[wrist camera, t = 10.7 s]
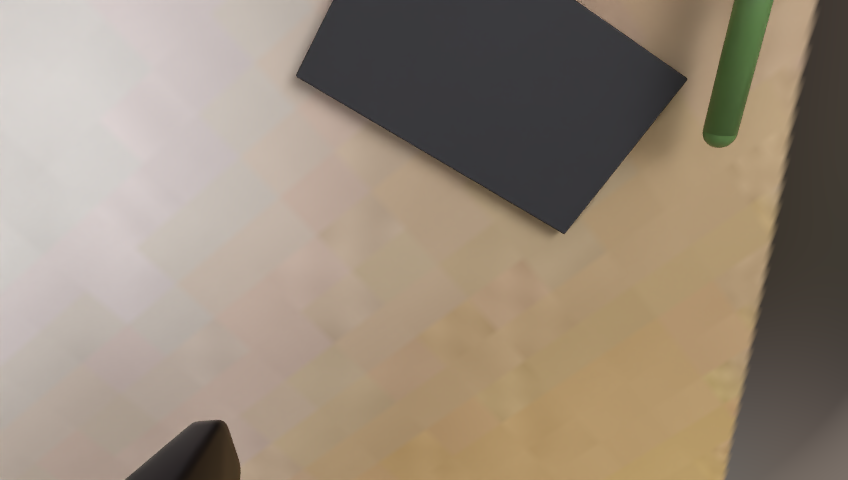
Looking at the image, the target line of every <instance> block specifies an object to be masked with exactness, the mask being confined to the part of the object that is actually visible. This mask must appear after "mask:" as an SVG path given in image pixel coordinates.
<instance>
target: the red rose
mask: <svg viewBox="0 0 848 480" xmlns="http://www.w3.org/2000/svg"><path fill="white" fill-rule="evenodd" d="M772 4H773V0H734V4H733V8H732V12H731V16H730V20H729V25H728V29H727V33H726V37H725V41H724V45H723V49H722V53H721V58H720V62H719V66H718V70H717V74H716V78H715V82H714V86H713V91H712V95H711V99H710V103H709V107H708V111H707V115H706V119H705V124H704V128H703V138H704V140H705V141H706V143H707V144H709V145H710V146H712V147H717V148H721V147H725V146H728V145H729V144H731V143H732V142H733V141H734V140H735V138H736V136H737V134H738V130H739V126H740V123H741V119H742V115H743V111H744V108H745V104H746V100H747V97H748V93H749V89H750V85H751V82H752V78H753V74H754V71H755V67H756V63H757V60H758V56H759V52H760V48H761V45H762V41H763V37H764V34H765V30H766V26H767V22H768V19H769V15H770V11H771V8H772Z"/></svg>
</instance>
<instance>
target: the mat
mask: <svg viewBox="0 0 848 480" xmlns="http://www.w3.org/2000/svg"><path fill="white" fill-rule="evenodd" d="M296 76H297V77H298V78H300V79H301V80H303V81H305V82H306V83H308V84H310V85H311V86H313V87H315V88H317V89H318V90H320V91H322V92H323V93H325V94H327V95H328V96H330V97H332V98H334V99H335V100H337V101H339V102H340V103H342V104H344V105H345V106H347V107H349V108H351V109H352V110H354V111H356V112H357V113H359V114H361V115H362V116H364V117H366V118H368V119H369V120H371V121H373V122H374V123H376V124H378V125H379V126H381V127H383V128H385V129H386V130H388V131H390V132H391V133H393V134H395V135H396V136H398V137H400V138H402V139H403V140H405V141H407V142H408V143H410V144H412V145H413V146H415V147H417V148H419V149H420V150H422V151H424V152H425V153H427V154H429V155H430V156H432V157H434V158H436V159H437V160H439V161H441V162H442V163H444V164H446V165H447V166H449V167H451V168H453V169H454V170H456V171H458V172H459V173H461V174H463V175H464V176H466V177H468V178H470V179H471V180H473V181H475V182H476V183H478V184H480V185H482V186H483V187H485V188H487V189H488V190H490V191H492V192H493V193H495V194H497V195H499V196H500V197H502V198H504V199H505V200H507V201H509V202H510V203H512V204H514V205H516V206H517V207H519V208H521V209H522V210H524V211H526V212H527V213H529V214H531V215H533V216H534V217H536V218H538V219H539V220H541V221H543V222H544V223H546V224H548V225H550V226H551V227H553V228H555V229H556V230H558V231H560V232H561V233H563V234H565V233H566V231H567V230H568V229H569V228H570V226H571V225H572V224H573V223H574V221H575V220H576V219H577V218H578V216H579V215H580V214H581V213H582V211H583V210H584V209H585V208H586V206H587V205H588V204H589V203H590V201H591V200H592V199H593V198H594V196H595V195H596V194H597V193H598V191H599V190H600V189H601V187H602V186H603V185H604V184H605V182H606V181H607V180H608V179H609V177H610V176H611V175H612V174H613V172H614V171H615V170H616V169H617V167H618V166H619V165H620V164H621V162H622V161H623V160H624V159H625V157H626V156H627V155H628V154H629V152H630V151H631V150H632V149H633V147H634V146H635V145H636V144H637V142H638V141H639V140H640V138H641V137H642V136H643V135H644V133H645V132H646V131H647V130H648V128H649V127H650V126H651V125H652V123H653V122H654V121H655V120H656V118H657V117H658V116H659V115H660V113H661V112H662V111H663V110H664V108H665V107H666V106H667V105H668V103H669V102H670V101H671V100H672V98H673V97H674V96H675V95H676V93H677V92H678V91H679V89H680V88H681V87H682V86H683V84H684V83H685V82H686V81H687V78H686V77H685V76H683V75H682V74H680V73H679V72H677V71H676V70H675V69H673V68H672V67H670V66H669V65H667V64H666V63H664V62H663V61H662V60H660V59H659V58H657V57H656V56H654V55H653V54H652V53H650V52H649V51H647V50H646V49H644V48H643V47H642V46H640V45H639V44H637V43H636V42H634V41H633V40H632V39H630V38H629V37H627V36H626V35H624V34H623V33H621V32H620V31H619V30H617V29H616V28H614V27H613V26H611V25H610V24H609V23H607V22H606V21H604V20H603V19H601V18H600V17H599V16H597V15H596V14H594V13H593V12H591V11H590V10H588V9H587V8H586V7H584V6H583V5H581V4H580V3H578V2H577V1H576V0H333V2H332V4H331V6H330V8H329V10H328V12H327V14H326V16H325V18H324V20H323V22H322V24H321V26H320V28H319V30H318V32H317V34H316V36H315V38H314V40H313V42H312V44H311V46H310V48H309V50H308V52H307V54H306V56H305V58H304V60H303V62H302V64H301V66H300V68H299V70H298V72H297V74H296Z"/></svg>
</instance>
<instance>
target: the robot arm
mask: <svg viewBox="0 0 848 480" xmlns="http://www.w3.org/2000/svg"><path fill="white" fill-rule="evenodd" d="M240 473H241V472H240V462H239V459H238V456H237V453H236V450H235V447H234V444H233V440H232V437H231V434H230V431H229V429H228V426H227V424H226V423H225V422H224V421H221V420H209V421H198V422H194V423H192V424H191V425H189V426H188V427H187V428H186V429H184V430H183V431H182V432H181V433H180V434H178V435H177V436H176V437H175V438H174V439H173V440H171V441H170V442H169V443H168V444H167V445H165V446H164V447H163V448H162V449H161V450H160V451H158V452H157V453H156V454H155V455H154V456H152V457H151V458H150V459H149V460H148V461H147V462H145V463H144V464H143V465H142V466H141V467H139V468H138V469H137V470H136V471H135V472H133V473H132V474H131V475H130V476H129V477H128V478H126V479H125V480H240Z"/></svg>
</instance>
